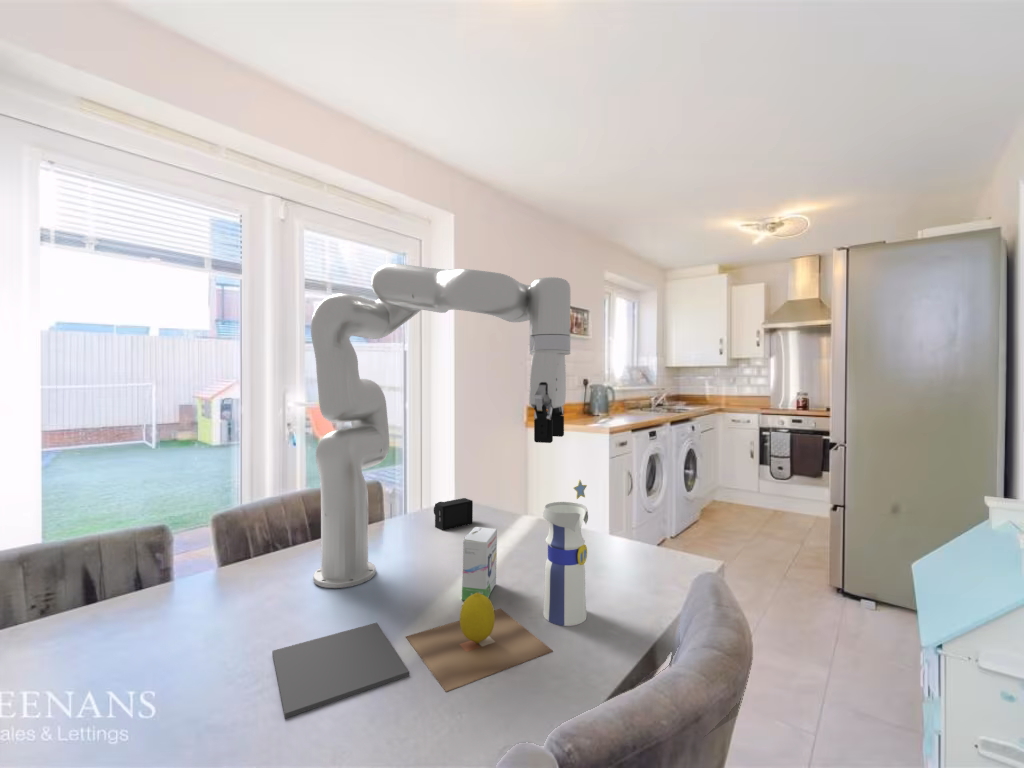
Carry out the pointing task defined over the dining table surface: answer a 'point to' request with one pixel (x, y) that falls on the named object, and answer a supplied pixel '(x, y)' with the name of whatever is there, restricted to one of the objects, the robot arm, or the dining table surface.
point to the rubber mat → (335, 668)
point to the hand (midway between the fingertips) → (549, 439)
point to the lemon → (477, 617)
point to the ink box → (479, 562)
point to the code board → (475, 651)
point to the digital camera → (453, 513)
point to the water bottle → (565, 562)
